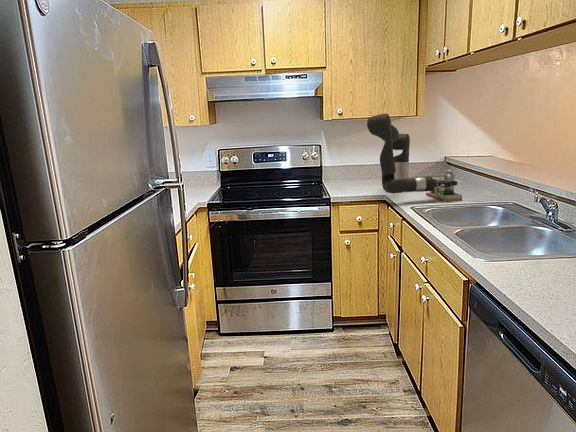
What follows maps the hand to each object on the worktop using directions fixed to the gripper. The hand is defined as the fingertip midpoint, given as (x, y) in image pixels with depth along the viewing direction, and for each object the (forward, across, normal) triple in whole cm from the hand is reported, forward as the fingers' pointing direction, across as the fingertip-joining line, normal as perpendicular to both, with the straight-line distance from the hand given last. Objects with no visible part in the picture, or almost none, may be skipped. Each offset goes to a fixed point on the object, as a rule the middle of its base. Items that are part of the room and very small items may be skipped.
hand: (454, 182), depth 231 cm
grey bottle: (-3, 0, +6) cm, 7 cm away
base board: (-3, +6, +9) cm, 11 cm away
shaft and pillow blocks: (-3, +12, +8) cm, 15 cm away
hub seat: (-3, 0, +8) cm, 8 cm away
